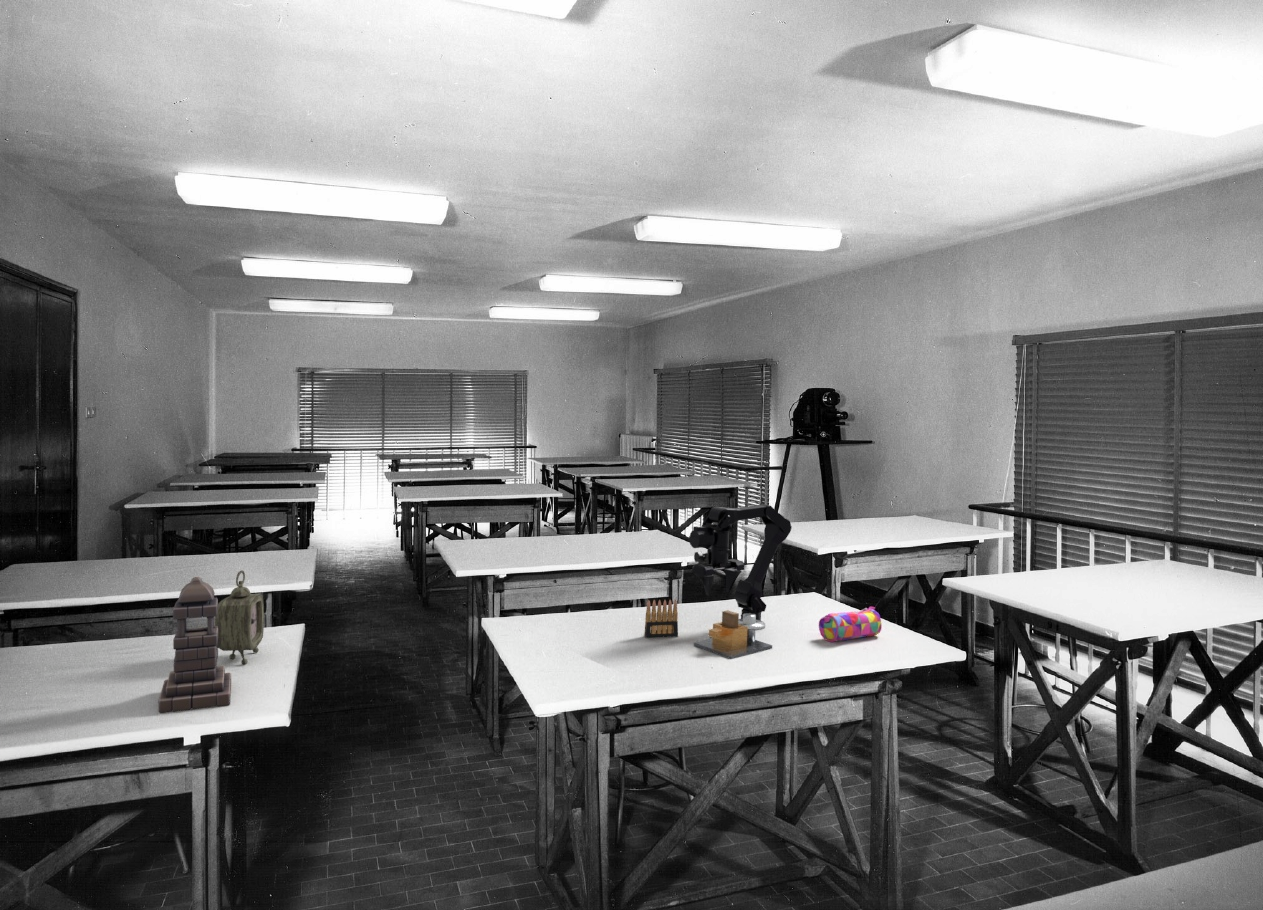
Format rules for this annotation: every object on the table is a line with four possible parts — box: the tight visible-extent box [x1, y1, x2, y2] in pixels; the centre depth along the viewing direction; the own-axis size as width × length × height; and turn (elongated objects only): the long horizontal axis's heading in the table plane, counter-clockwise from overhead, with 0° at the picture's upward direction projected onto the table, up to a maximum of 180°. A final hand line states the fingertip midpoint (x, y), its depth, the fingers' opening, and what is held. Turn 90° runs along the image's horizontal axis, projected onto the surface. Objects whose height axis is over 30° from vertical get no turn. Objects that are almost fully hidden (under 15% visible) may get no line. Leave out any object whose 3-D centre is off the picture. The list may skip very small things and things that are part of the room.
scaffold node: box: [693, 613, 773, 660], centre depth 254 cm, size 21×16×9 cm
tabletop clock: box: [214, 570, 265, 666], centre depth 230 cm, size 14×9×25 cm, turn 9°
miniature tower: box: [158, 576, 232, 714], centre depth 199 cm, size 16×15×30 cm
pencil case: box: [818, 606, 882, 643], centre depth 267 cm, size 22×9×9 cm, turn 123°
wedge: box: [721, 609, 740, 629], centre depth 252 cm, size 2×4×10 cm, turn 40°
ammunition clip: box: [643, 598, 679, 639], centre depth 262 cm, size 11×2×12 cm, turn 102°
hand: (718, 593), depth 268 cm, fingers open, 9 cm apart
